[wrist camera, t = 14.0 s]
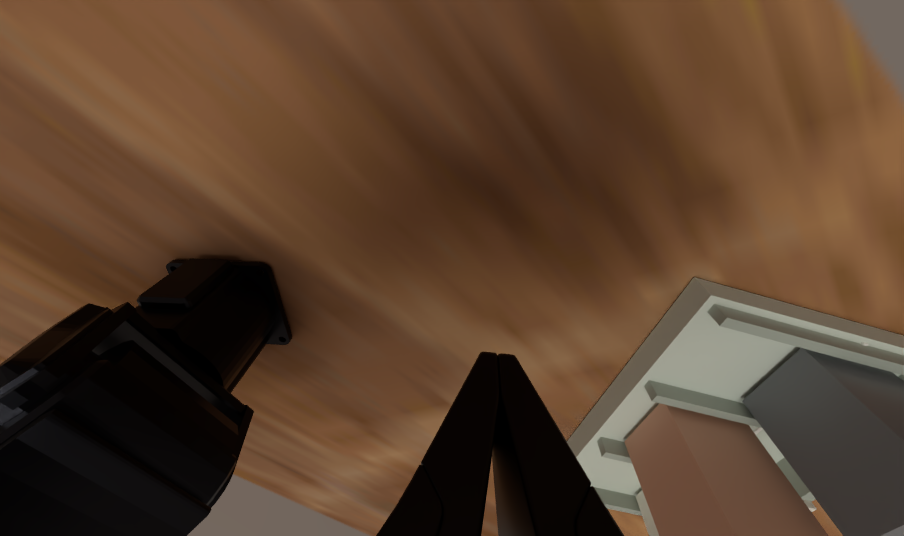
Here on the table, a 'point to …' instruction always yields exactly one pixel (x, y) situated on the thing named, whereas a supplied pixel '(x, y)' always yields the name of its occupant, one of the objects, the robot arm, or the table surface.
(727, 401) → the pale green divided tray
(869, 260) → the table surface
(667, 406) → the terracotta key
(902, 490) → the black block
